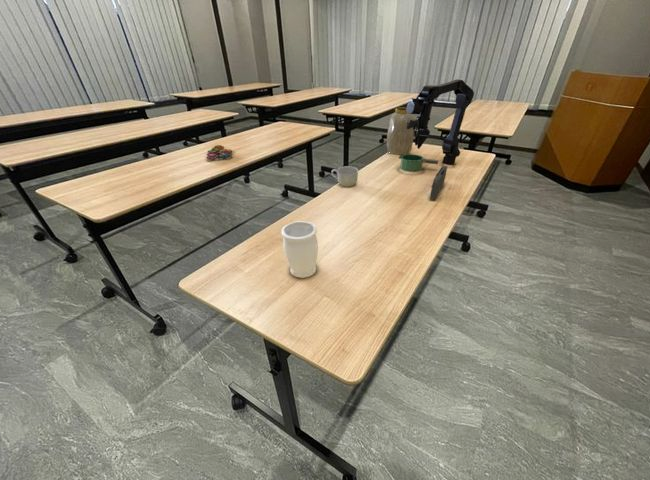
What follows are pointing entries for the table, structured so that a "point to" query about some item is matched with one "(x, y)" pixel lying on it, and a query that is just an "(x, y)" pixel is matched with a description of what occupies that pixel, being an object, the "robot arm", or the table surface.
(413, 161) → the pot
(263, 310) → the table surface
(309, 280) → the table surface
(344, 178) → the teacup
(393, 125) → the vase
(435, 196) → the handheld gaming console
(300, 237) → the jar
